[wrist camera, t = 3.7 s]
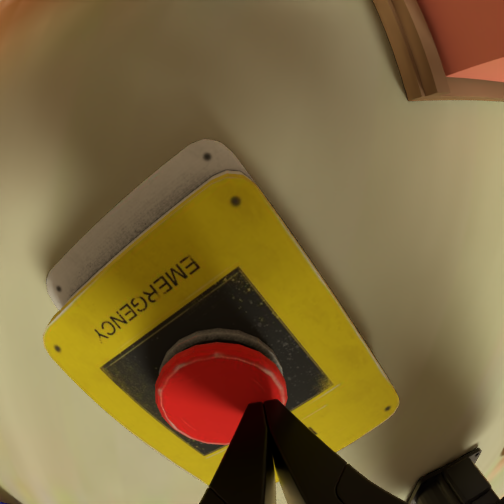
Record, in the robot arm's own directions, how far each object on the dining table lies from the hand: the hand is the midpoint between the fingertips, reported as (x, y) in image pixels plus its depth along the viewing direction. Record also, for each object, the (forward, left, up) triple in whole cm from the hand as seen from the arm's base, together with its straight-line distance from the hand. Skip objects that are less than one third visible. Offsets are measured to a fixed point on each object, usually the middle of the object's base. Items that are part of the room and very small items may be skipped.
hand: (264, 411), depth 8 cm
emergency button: (-1, +1, -5) cm, 5 cm away
